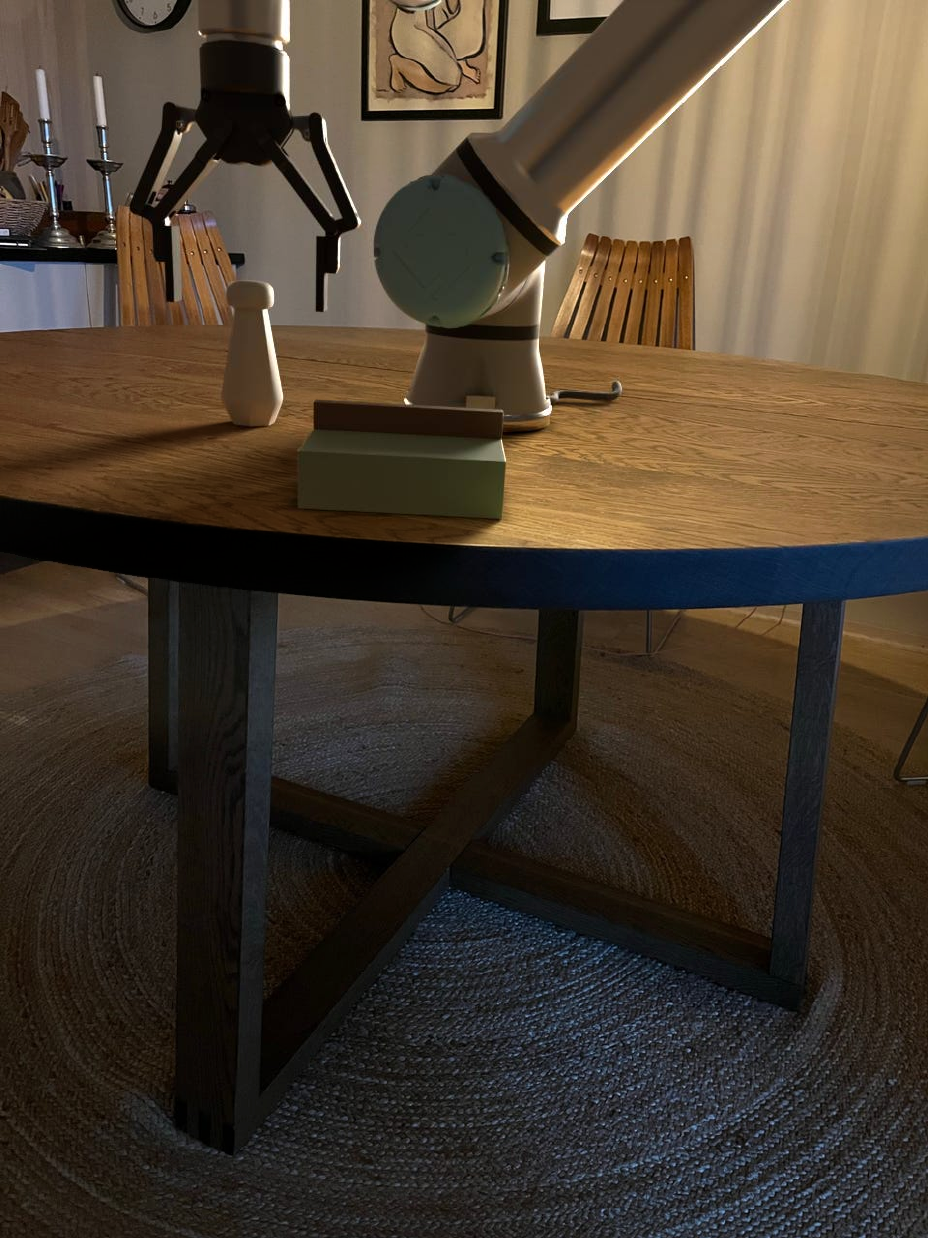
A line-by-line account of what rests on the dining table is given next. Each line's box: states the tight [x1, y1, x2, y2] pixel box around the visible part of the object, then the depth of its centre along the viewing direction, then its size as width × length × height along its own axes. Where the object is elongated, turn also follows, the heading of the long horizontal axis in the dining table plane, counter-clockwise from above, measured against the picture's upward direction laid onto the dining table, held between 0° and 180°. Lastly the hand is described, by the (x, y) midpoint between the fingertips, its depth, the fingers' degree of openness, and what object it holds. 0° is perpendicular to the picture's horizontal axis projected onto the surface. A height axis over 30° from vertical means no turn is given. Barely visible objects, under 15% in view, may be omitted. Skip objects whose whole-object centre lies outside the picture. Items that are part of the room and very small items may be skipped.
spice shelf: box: [297, 399, 507, 520], centre depth 71 cm, size 9×14×6 cm, turn 90°
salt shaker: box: [220, 279, 284, 427], centre depth 94 cm, size 6×6×13 cm
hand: (248, 306), depth 92 cm, fingers open, 13 cm apart
